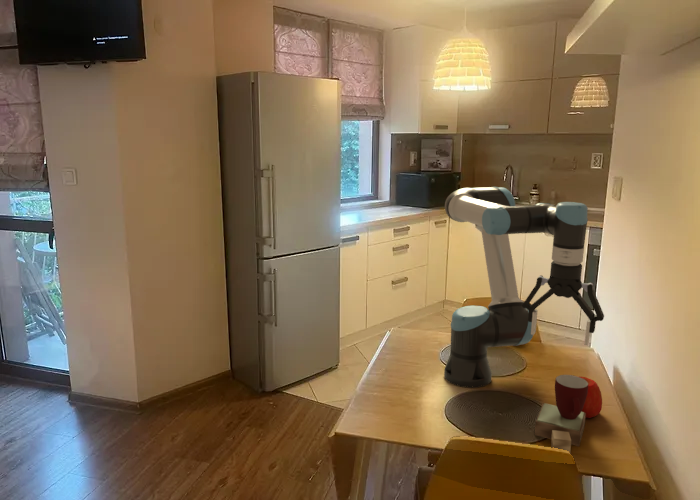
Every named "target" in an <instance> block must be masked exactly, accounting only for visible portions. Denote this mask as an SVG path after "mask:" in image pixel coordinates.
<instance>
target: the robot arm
mask: <svg viewBox="0 0 700 500" xmlns="http://www.w3.org/2000/svg"><path fill="white" fill-rule="evenodd" d="M444 211H445V215H447V216H448V217H449V219H451V220H453V221H455V222H457V223H467V222H468V223H471V224H473V225H475V228H476V229H477V231H479V232H481V236H482V238H481V239H482V243H483V244H482V245H483V251H484V258H485V264H486V270H487V277H488V284H489V291H490V297H491V302H489V304H488V305H487V307H486V306H482V305H466V306H462V307H459V308H457V309H455V311H453V313H452V315H451V321H450V322H451V323H450V328H451V329H450V353H449V356H448V359H447V362H446V364H445V367H444V374H443V376H444V377H443V378H444V379H445V380H446V381H447V382H448V383H450V384H451V385H455V386H458V387H462V388H471V389H472V388H473V389H474V388H475V389H476V388H482V387H486V386H487V385H489V384H491V382H492V376H493V375H492V368H491V366H490V364H489V359H488V348H496V347H508V346H510V347H511V346H513V347H514V346H515V347H516V346H520V345H525V344H528V343H529V342H530V341H531V340H532V339H533V336H534V335H535V334H536V332H537V322H538V321H537V320H538V311H539V309H537V308H538V307H539V306H540V305H542V303H544V302H546V300H548V299H549V298H551V297H552V296H553V295H554V296H556V297H558V298H560V297H564V298H566V299H570V298H572V299H573V300H574V302H576V303H577V305H579V307H580V309H581V310H582V311H583V313H584V314H585V316H586V317H587V320H586V325H585V338H584V345H585V346H588V345H589V342H590V334H594V333H595V332H596V331H595V330H596V323H597V321H598V322H599V321H600V322H602V321H603V320H604V318H605V314H604V312H603V309H602V307H601V305H600V303H599V300H598V297H597V295H596V292H595V291H594V289H595V288H594V286H595V284H594V282H591V281H590V282H588V283H587V282H586V283H585V282H583V281H582V270H583V264H582V263H583V261H584V252H585V241H586V235H587V234H586V233H587V228H588V227H587V226H588V220H589V219H588V205H586V204H585V203H583V202H576V201H561V202H558V203H557V204H556V205H554V204H551V203H548V202H547V203H546V202H538V203H536V204H534V205H517V206H516V201H515V198H514V195H513V194H512V193H511V191H510V190H509V189H507V188H506V187H501V186H500V187H498V186H491V187H490V186H489V187H463V188H459V189H457V190H454V191H453V192H451V193H450V194H449V195H448V196H447V197H446V199H445V202H444ZM538 233H539V234H540V233H543V234H550V235H551V236H553V242H552V252H551V260H552V262H551V263H550V274H549V278H547V277H545V276H543V275H542V274H541V275H539V276H538V277H537V278H536V282H535V283H536V284H535V286H534V287H533V289H532V290H531V291H530V293H529V294H528V296H527V297H526V299H525V300H524V301H523V300H522V299H521V298H520V297H519V293H518V292H519V290H518V286H517V279H516V275H515V268H514V262H513V261H514V260H513V255H512V254H513V253H512V249H511V243H510V238H509V235H514V234H518V235H519V234H538ZM546 284H547V285H548V287H549V288H550V289H548V290H547V291H546V292H544V294H543V295H541V297H539V298H538V299H537V300H536V301H534V302H533V303H531V301H532V300H533V298H534V297H536V294H537V293H538V292H539V290H540V288H541V287H542V286H544V285H546ZM581 289H583V290H584V292H586V293H587V296H588V298H589V300H590V303H591V306H592V308H593V310H594V311H593V310H592V308H591V307H590V306H589V304H588V303H587V302H586V300H585V299H584V298H583V296H582V294H581V293H580V290H581Z"/></svg>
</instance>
